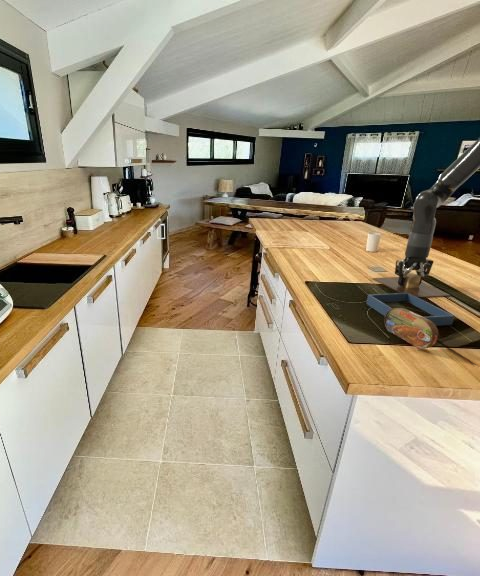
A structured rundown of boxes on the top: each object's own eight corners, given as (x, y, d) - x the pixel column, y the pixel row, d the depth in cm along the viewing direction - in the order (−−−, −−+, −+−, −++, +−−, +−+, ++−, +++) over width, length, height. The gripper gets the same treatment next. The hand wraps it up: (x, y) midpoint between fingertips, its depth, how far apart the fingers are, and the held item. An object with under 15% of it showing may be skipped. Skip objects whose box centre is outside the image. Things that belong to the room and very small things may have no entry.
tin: (381, 328, 96) (387, 303, 93) (390, 327, 96) (395, 302, 93) (426, 355, 82) (434, 326, 79) (435, 353, 83) (444, 325, 80)
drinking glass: (377, 252, 180) (381, 235, 176) (364, 251, 183) (367, 234, 179) (378, 249, 185) (381, 233, 182) (365, 248, 188) (368, 232, 185)
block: (409, 283, 128) (412, 273, 126) (418, 287, 123) (421, 276, 122) (399, 284, 127) (401, 273, 126) (407, 288, 123) (410, 277, 121)
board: (406, 279, 137) (407, 276, 136) (449, 298, 116) (450, 295, 116) (372, 281, 135) (372, 278, 135) (409, 301, 115) (410, 297, 114)
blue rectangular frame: (405, 302, 113) (408, 292, 112) (451, 327, 95) (454, 315, 94) (365, 304, 112) (367, 294, 111) (404, 330, 94) (407, 318, 93)
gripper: (408, 247, 115) (398, 289, 121) (444, 245, 116) (433, 287, 122) (394, 242, 122) (385, 283, 128) (428, 241, 123) (418, 281, 129)
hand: (408, 285), depth 125 cm, fingers open, 6 cm apart
